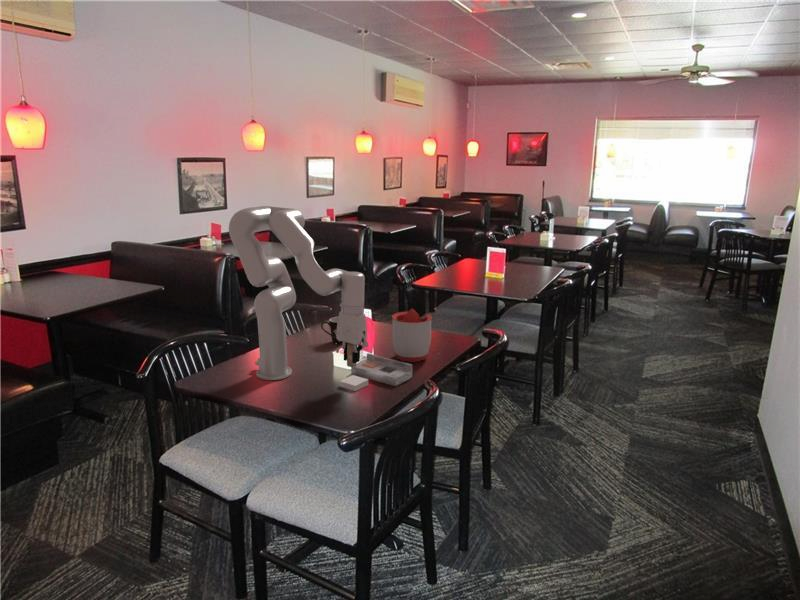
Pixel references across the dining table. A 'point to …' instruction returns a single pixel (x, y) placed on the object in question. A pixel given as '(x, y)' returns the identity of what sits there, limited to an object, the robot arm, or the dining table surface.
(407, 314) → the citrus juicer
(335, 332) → the coffee mug
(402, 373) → the grey tray
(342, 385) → the white flat square block
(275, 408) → the dining table surface
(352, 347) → the peg
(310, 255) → the robot arm
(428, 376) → the dining table surface
